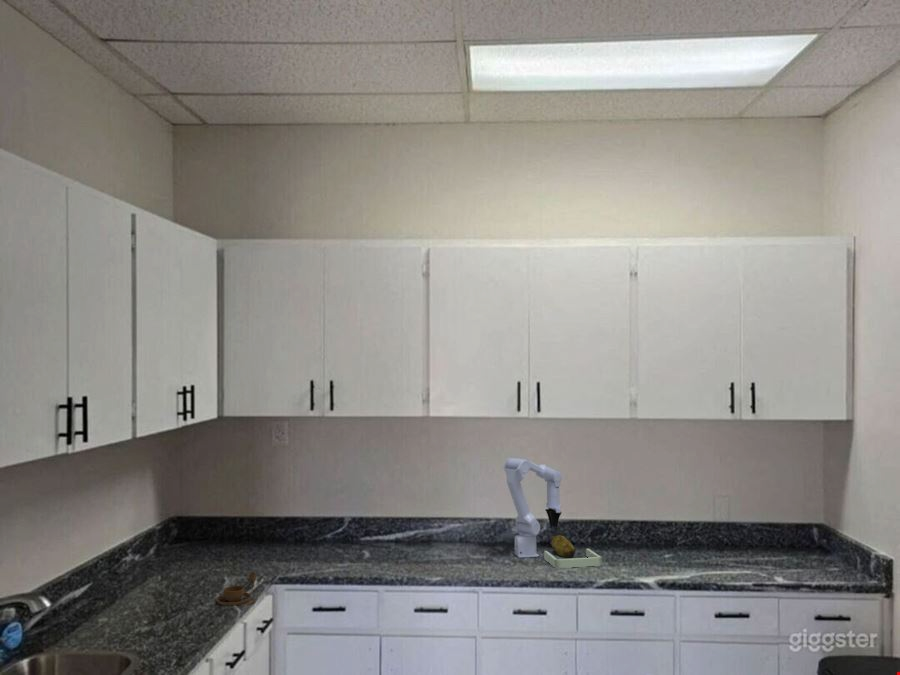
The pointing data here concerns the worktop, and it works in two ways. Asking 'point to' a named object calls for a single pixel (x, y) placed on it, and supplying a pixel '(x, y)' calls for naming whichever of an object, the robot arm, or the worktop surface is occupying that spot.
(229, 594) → the place setting
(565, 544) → the potato
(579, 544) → the worktop surface
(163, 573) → the worktop surface
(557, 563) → the pale green rail frame
